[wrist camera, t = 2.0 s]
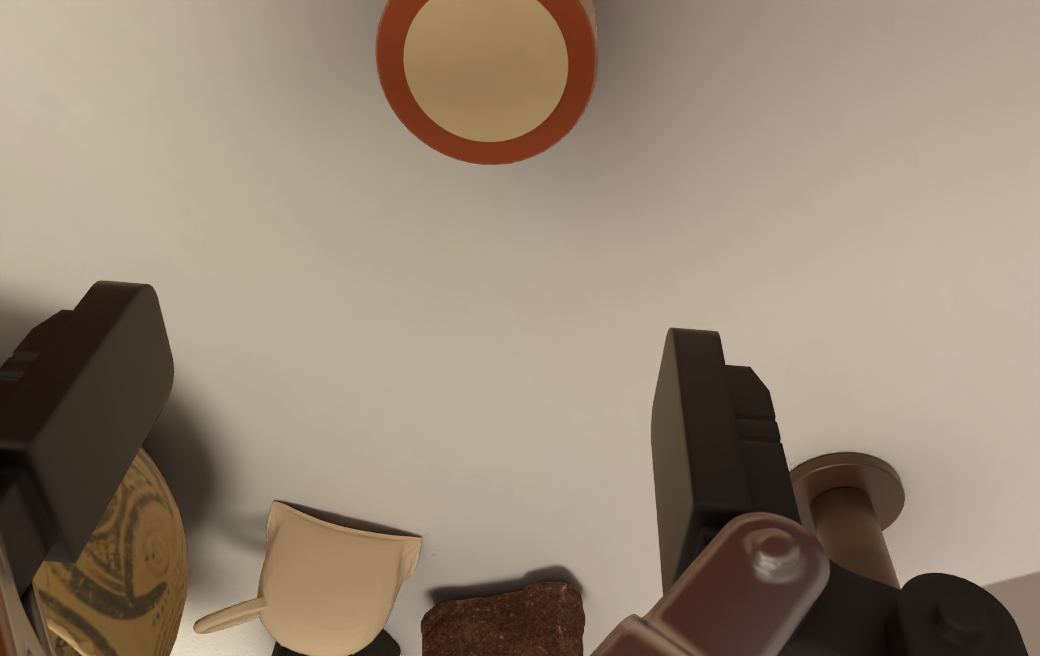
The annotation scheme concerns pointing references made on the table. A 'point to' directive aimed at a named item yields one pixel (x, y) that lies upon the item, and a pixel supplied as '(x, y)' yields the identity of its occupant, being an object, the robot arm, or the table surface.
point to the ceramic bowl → (122, 575)
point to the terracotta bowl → (488, 73)
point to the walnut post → (850, 510)
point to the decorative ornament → (322, 584)
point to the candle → (379, 652)
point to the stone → (508, 624)
